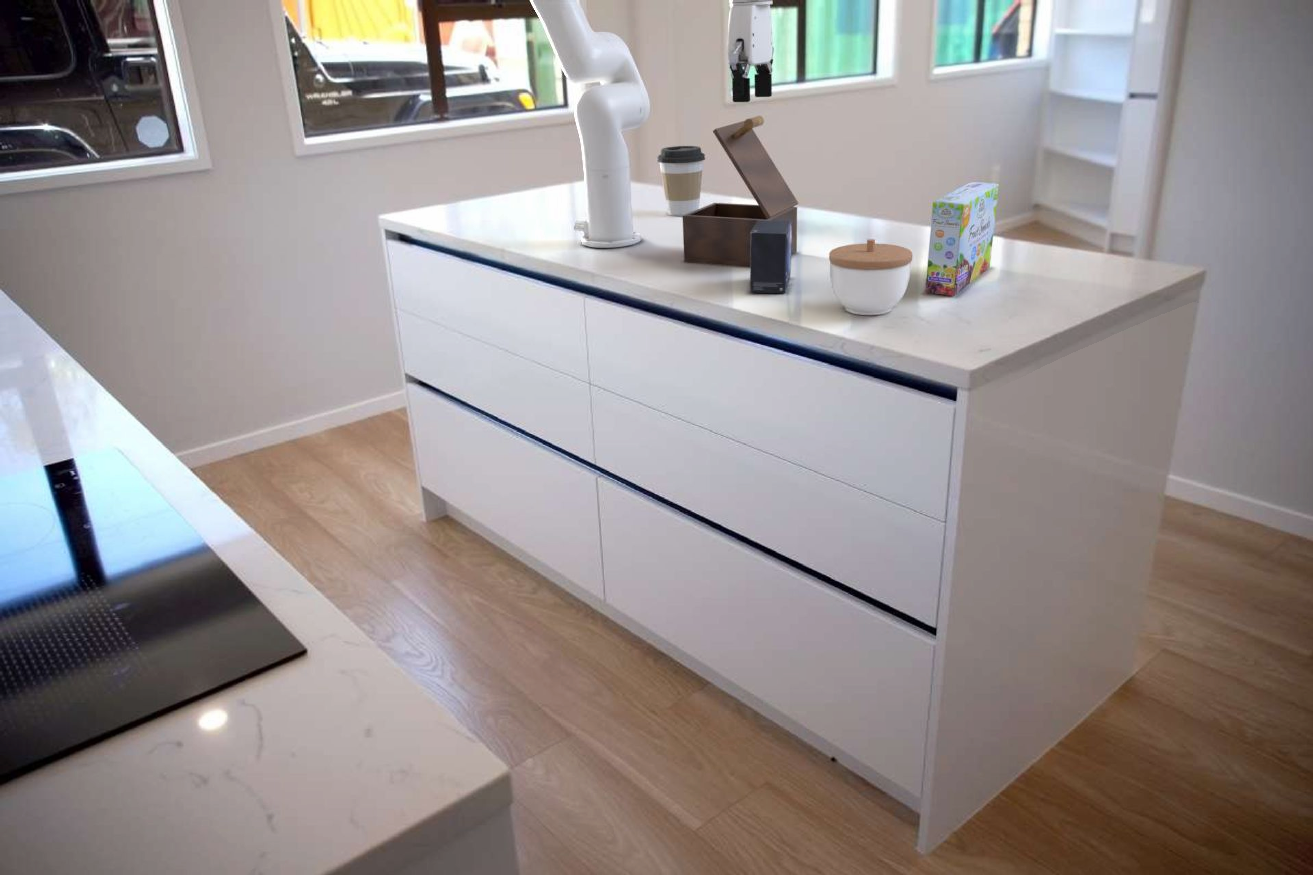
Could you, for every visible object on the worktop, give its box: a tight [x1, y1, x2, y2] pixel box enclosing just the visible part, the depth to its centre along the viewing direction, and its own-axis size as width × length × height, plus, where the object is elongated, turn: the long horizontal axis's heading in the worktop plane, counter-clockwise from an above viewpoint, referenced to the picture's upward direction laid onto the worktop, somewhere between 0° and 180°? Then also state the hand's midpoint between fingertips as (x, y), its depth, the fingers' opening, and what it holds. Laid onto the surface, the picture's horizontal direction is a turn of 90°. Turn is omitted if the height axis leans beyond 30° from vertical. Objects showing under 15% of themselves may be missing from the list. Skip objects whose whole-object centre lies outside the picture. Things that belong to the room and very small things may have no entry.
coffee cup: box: [656, 145, 706, 217], centre depth 235 cm, size 11×11×15 cm
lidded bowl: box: [828, 238, 913, 316], centre depth 156 cm, size 13×13×11 cm
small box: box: [749, 220, 792, 294], centre depth 171 cm, size 11×6×10 cm, turn 168°
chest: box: [682, 202, 798, 268], centre depth 192 cm, size 18×14×9 cm
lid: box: [712, 115, 799, 219], centre depth 184 cm, size 19×14×6 cm
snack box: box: [924, 181, 1000, 297], centre depth 168 cm, size 21×6×15 cm, turn 148°
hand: (752, 99), depth 181 cm, fingers open, 9 cm apart
